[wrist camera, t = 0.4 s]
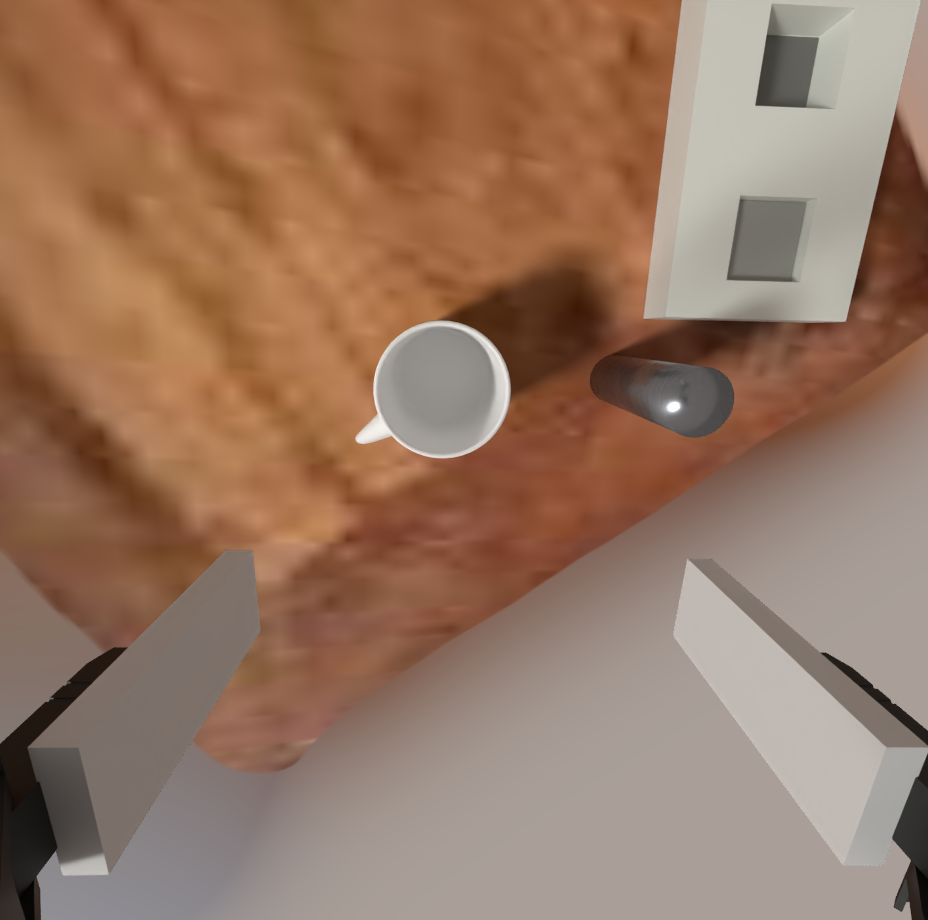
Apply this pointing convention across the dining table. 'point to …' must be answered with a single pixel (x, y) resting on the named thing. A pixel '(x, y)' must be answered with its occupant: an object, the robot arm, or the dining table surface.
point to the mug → (439, 390)
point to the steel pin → (665, 393)
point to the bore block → (774, 156)
